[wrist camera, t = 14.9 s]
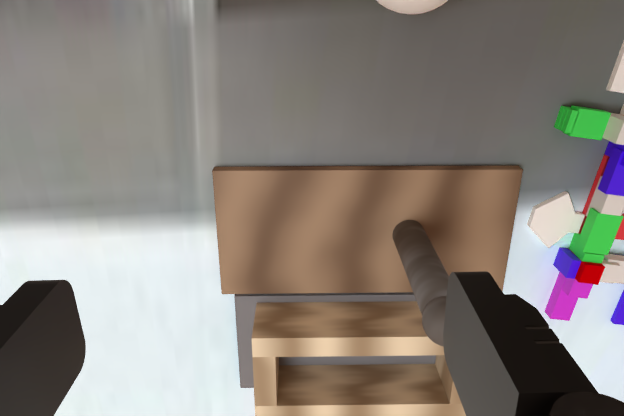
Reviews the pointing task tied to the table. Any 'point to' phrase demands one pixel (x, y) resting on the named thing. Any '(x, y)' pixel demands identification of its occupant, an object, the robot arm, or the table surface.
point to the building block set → (588, 211)
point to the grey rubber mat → (245, 322)
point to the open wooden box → (348, 378)
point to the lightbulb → (411, 5)
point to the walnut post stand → (364, 229)
